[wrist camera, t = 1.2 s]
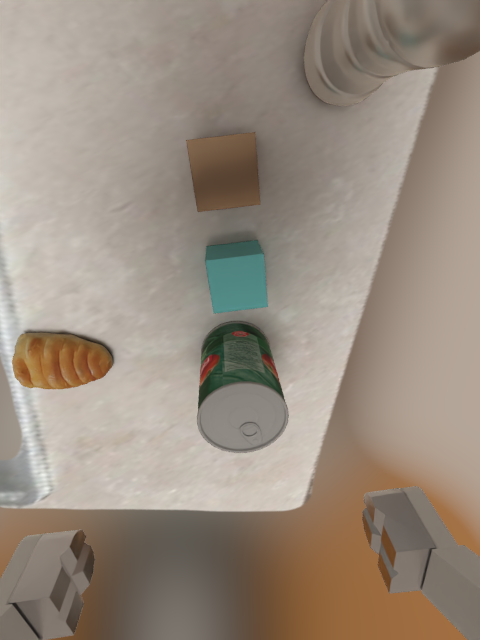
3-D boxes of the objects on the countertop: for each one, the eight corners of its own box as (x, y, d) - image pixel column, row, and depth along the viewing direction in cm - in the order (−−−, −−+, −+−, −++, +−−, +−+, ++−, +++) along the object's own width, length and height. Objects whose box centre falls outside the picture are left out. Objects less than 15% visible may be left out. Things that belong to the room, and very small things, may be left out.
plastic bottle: (299, 116, 28) (455, 45, 10) (294, 11, 24) (505, -373, 7) (375, 103, 28) (670, 8, 10) (379, -4, 24) (821, -430, 7)
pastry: (110, 328, 36) (99, 347, 32) (118, 378, 39) (108, 400, 35) (19, 328, 35) (-2, 347, 31) (35, 379, 38) (17, 401, 34)
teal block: (206, 246, 32) (205, 260, 28) (257, 239, 32) (263, 253, 28) (213, 293, 34) (213, 313, 30) (260, 287, 34) (267, 306, 30)
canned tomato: (189, 337, 36) (179, 404, 27) (254, 310, 35) (269, 369, 26) (219, 388, 40) (220, 464, 30) (279, 364, 39) (300, 435, 29)
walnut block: (190, 142, 28) (186, 140, 24) (248, 135, 28) (255, 132, 24) (200, 203, 30) (197, 211, 26) (253, 197, 30) (260, 204, 26)
